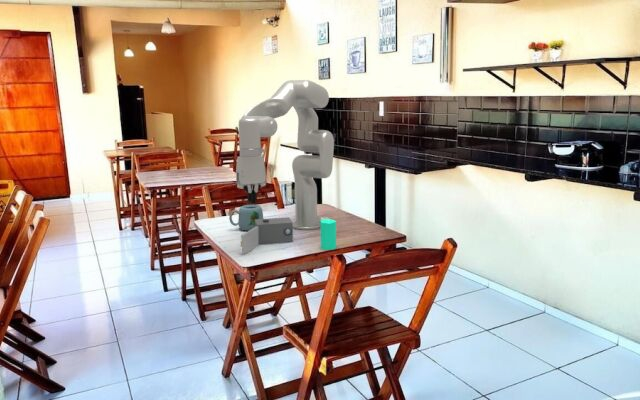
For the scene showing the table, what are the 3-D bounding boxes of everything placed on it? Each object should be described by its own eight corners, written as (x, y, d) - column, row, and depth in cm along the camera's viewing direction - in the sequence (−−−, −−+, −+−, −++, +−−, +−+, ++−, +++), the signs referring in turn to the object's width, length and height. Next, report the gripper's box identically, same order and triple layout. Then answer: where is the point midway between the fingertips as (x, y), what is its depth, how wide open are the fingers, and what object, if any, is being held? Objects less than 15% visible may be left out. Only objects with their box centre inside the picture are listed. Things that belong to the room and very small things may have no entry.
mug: (233, 234, 221) (232, 211, 219) (226, 228, 231) (225, 206, 229) (267, 230, 227) (266, 207, 224) (259, 224, 236) (259, 202, 234)
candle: (320, 245, 204) (319, 215, 201) (335, 245, 204) (335, 215, 202) (321, 250, 198) (321, 219, 196) (337, 249, 198) (337, 218, 196)
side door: (244, 254, 192) (243, 235, 191) (240, 253, 193) (239, 235, 191) (259, 244, 205) (258, 226, 204) (256, 243, 206) (255, 225, 204)
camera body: (289, 236, 217) (288, 215, 215) (293, 242, 208) (292, 220, 206) (255, 238, 214) (254, 217, 212) (257, 244, 205) (257, 223, 203)
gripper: (265, 150, 195) (267, 198, 198) (226, 153, 188) (229, 203, 192) (273, 152, 188) (275, 202, 192) (233, 155, 181) (236, 207, 185)
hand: (252, 202), depth 192 cm, fingers closed
